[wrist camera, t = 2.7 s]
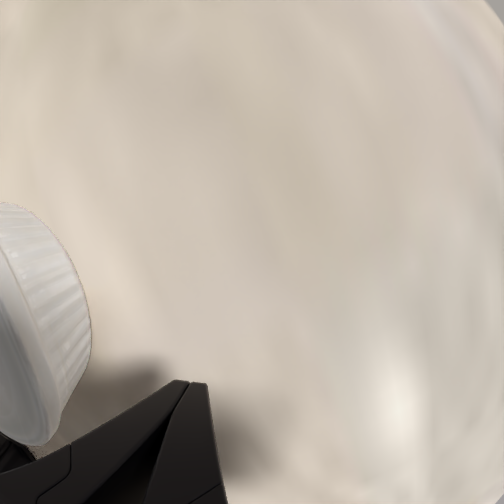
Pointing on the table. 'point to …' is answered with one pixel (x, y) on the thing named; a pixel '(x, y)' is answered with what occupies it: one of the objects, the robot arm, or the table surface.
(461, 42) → the table surface
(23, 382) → the ramekin
